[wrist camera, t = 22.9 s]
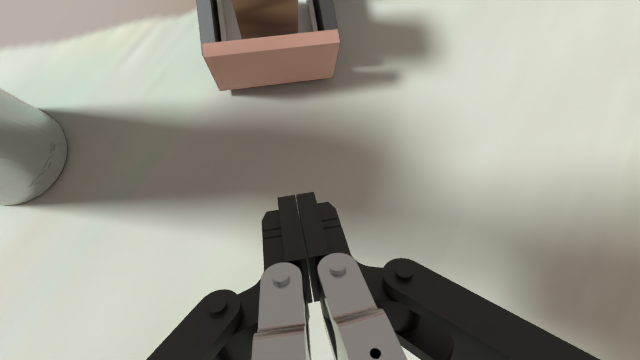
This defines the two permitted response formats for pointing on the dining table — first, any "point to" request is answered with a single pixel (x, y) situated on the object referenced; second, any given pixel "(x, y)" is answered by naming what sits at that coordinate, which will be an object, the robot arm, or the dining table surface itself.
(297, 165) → the dining table surface
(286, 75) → the dock tray
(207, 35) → the block
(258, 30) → the walnut block
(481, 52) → the dining table surface
